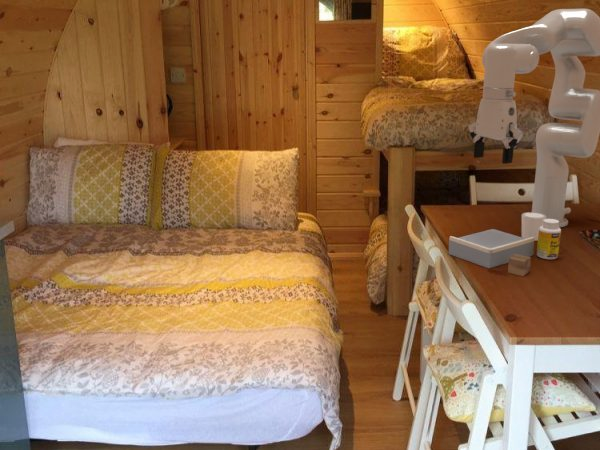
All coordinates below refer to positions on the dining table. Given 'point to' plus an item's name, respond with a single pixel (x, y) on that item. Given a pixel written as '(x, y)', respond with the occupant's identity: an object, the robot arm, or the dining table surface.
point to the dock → (490, 247)
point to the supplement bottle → (548, 239)
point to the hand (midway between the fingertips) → (492, 160)
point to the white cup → (532, 224)
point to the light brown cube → (519, 265)
